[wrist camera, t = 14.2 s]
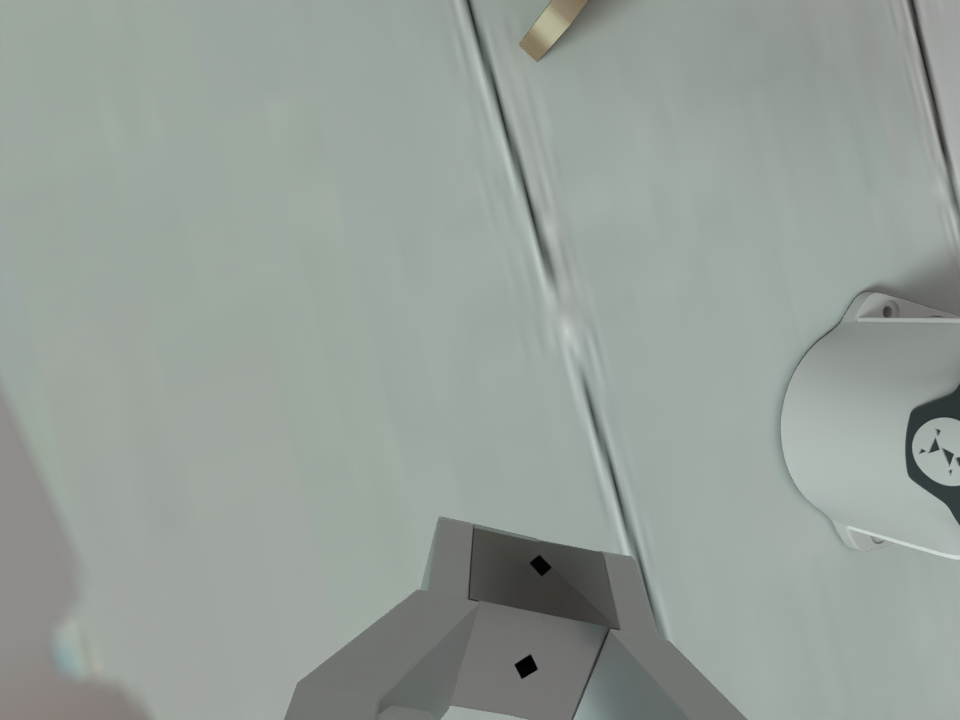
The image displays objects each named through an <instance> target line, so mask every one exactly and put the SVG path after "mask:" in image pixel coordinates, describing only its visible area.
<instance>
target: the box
mask: <svg viewBox="0 0 960 720" xmlns="http://www.w3.org/2000/svg"><path fill="white" fill-rule="evenodd" d="M587 1H588V0H552V1H551V2H550V3H549V5H548V6H547V7H546V9H545V10H544V11H543V13H542V14H541V15H540V17H539V18H538V19H537V21H536V22H535V23H534V25H533V26H532V27H531V29H530V30H529V31H528V33H527V34H526V35H525V37H524V38H523V40H522V41H521V42H520V44H519V45H520V46H521V47H522V48H523V49H524V50H525V51H526V52H527V53H528V54H529V55H531V56H532V57H533V58H534V59H535V60H536V61H537V62H538V61H539V59H540V58H541V57H542V56H543V55H544V54H545V53H546V52H547V50H548V49H549V48H550V47H551V46H552V45H553V44H554V42H555V41H556V40H557V39H558V38H559V37H560V36H561V35H562V33H563V32H564V31H565V30H566V29H567V28H568V27H569V25H570V24H571V23H572V22H573V20H574V19H575V18H576V16H577V15H578V13H579V12H580V11H581V9H582V8H583V7H584V5H585V4H586V3H587Z"/></svg>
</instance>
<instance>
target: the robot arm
mask: <svg viewBox="0 0 960 720" xmlns="http://www.w3.org/2000/svg"><path fill="white" fill-rule="evenodd" d="M883 311H884V313H883ZM781 440H782V448H783V453H784V457H785V461H786V464H787V467H788V470H789V472H790V475H791V477H792V479H793V481H794V482H795V484H796V486H797V487H798V489H799V490H800V492H801V493H802V494H803V495H804V496H805V497H806V499H807V500H808V501H809V502H811V503H812V504H813V505H814V506H815V507H817V508H818V509H819V510H821V511H822V512H823V513H825V514H826V515H827V516H828V517H829V518H830V519H831V520H832V522H833V524H834V526H835V528H836V530H837V532H838V534H839V536H840V537H841V539H842V541H843V542H844V543H845V545H846V546H847V547H849V548H851V549H854V550H858V551H862V552H868V551H872V550H875V549H878V548H881V547H883V546H886V545H889V544H892V543H898V544H901V545H905V546H908V547H912V548H915V549H919V550H922V551H925V552H929V553H932V554H936V555H939V556H943V557H946V558H950V559H956V560H960V316H957V315H953V314H950V313H947V312H943V311H940V310H937V309H933V308H930V307H927V306H923V305H920V304H916V303H913V302H910V301H906V300H903V299H900V298H896V297H893V296H890V295H886V294H883V293H878V292H863V293H861V294H859V295H858V296H857V297H856V298H855V300H854V301H853V302H852V304H851V305H850V307H849V309H848V310H847V312H846V314H845V315H844V317H843V319H842V321H841V323H840V324H839V325H838V326H837V327H836V328H835V329H833V330H832V331H831V332H830V333H828V334H827V335H826V336H824V337H823V338H822V339H820V340H819V341H818V342H817V343H816V344H815V345H814V346H813V347H812V348H811V349H810V350H809V351H808V353H807V354H806V355H805V356H804V358H803V359H802V360H801V362H800V364H799V365H798V367H797V368H796V370H795V372H794V374H793V376H792V379H791V381H790V383H789V386H788V389H787V392H786V395H785V399H784V404H783V409H782V417H781ZM450 705H451V706H457V707H463V708H469V709H475V710H481V711H487V712H493V713H500V714H506V715H511V716H515V717H520V718H524V719H528V720H747V719H746V718H745V717H744V716H743V715H742V714H741V713H740V712H739V711H738V710H737V709H736V708H735V707H734V706H733V705H732V704H731V703H730V702H729V701H728V700H727V699H726V698H725V697H724V695H723V694H722V693H721V692H720V691H719V690H718V689H717V688H716V687H715V686H714V685H713V684H712V683H711V682H710V681H709V680H708V679H707V678H706V677H705V676H704V675H703V674H702V673H701V672H700V671H699V670H698V669H697V668H696V667H695V666H694V665H693V664H692V663H691V662H690V661H689V660H688V659H687V658H686V657H685V656H684V655H683V654H682V653H681V652H680V651H679V650H678V649H677V648H676V647H675V646H674V645H673V644H672V643H671V642H670V641H667V640H662V639H659V636H658V633H657V629H656V626H655V623H654V620H653V616H652V613H651V610H650V606H649V603H648V600H647V596H646V593H645V590H644V587H643V583H642V580H641V577H640V573H639V570H638V567H637V564H636V561H635V560H634V559H633V558H632V557H631V556H625V555H620V554H614V553H609V552H603V551H599V552H598V551H593V550H588V549H583V548H578V547H573V546H568V545H563V544H558V543H553V542H548V541H543V540H539V539H536V538H533V537H528V536H524V535H520V534H516V533H511V532H507V531H503V530H499V529H494V528H490V527H486V526H482V525H477V524H471V523H469V522H464V521H459V520H455V519H450V518H445V517H441V516H439V519H438V521H437V524H436V528H435V532H434V536H433V540H432V544H431V548H430V552H429V556H428V560H427V564H426V567H425V571H424V575H423V580H422V584H421V588H420V590H416V591H415V592H413V593H412V594H411V595H410V596H408V597H407V598H406V599H404V600H403V601H402V602H401V603H399V604H398V605H397V606H396V607H394V608H393V609H392V610H390V611H389V612H388V613H387V614H385V615H384V616H383V617H381V618H380V619H379V620H378V621H376V622H375V623H374V624H372V625H371V626H370V627H369V628H367V629H366V630H365V631H363V632H362V633H361V634H360V635H358V636H357V637H356V638H354V639H353V640H352V641H351V642H349V643H348V644H347V645H345V646H344V647H343V648H342V649H340V650H339V651H338V652H337V653H335V654H334V655H333V656H331V657H330V658H329V659H328V660H326V661H325V662H324V663H322V664H321V665H320V666H319V667H317V668H316V669H315V670H313V671H312V672H311V673H310V674H308V675H307V676H306V677H304V678H303V679H302V680H301V681H299V682H298V683H297V685H296V688H295V691H294V694H293V697H292V699H291V702H290V705H289V708H288V710H287V713H286V716H285V719H284V720H440V719H441V718H442V717H443V716H444V714H445V713H446V712H447V710H448V709H449V706H450Z"/></svg>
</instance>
